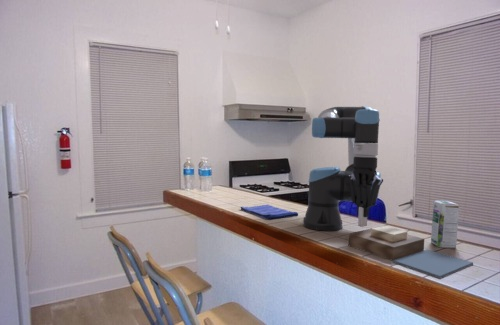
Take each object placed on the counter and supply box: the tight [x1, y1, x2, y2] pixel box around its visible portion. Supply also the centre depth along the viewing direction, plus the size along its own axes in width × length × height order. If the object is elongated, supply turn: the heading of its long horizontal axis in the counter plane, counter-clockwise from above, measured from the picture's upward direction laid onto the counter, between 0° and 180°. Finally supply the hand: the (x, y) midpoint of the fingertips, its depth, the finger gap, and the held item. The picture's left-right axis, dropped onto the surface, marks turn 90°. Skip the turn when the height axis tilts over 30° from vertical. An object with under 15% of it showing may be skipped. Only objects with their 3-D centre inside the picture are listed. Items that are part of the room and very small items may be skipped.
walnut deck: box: [348, 228, 425, 262], centre depth 108 cm, size 16×16×4 cm
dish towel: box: [240, 204, 299, 220], centre depth 157 cm, size 17×24×3 cm
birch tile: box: [370, 225, 408, 242], centre depth 107 cm, size 8×7×2 cm
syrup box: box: [430, 200, 460, 249], centre depth 112 cm, size 6×6×14 cm
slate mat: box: [392, 249, 474, 279], centre depth 95 cm, size 13×18×1 cm
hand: (362, 225), depth 115 cm, fingers closed
